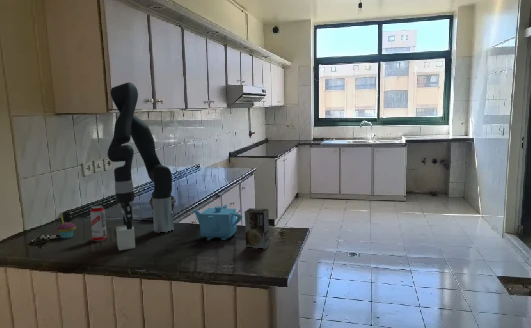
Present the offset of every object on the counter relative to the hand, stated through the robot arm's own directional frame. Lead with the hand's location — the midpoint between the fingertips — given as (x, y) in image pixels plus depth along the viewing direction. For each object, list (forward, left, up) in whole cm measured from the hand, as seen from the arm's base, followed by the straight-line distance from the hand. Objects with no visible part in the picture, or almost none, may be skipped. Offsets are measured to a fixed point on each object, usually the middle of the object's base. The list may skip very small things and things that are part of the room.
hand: (127, 226), depth 175 cm
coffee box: (-50, +28, -10) cm, 58 cm away
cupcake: (+25, -33, -9) cm, 42 cm away
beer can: (+11, -19, -9) cm, 24 cm away
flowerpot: (-25, -48, -9) cm, 54 cm away
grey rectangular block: (+1, -1, -9) cm, 9 cm away
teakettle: (-39, +6, -10) cm, 40 cm away
